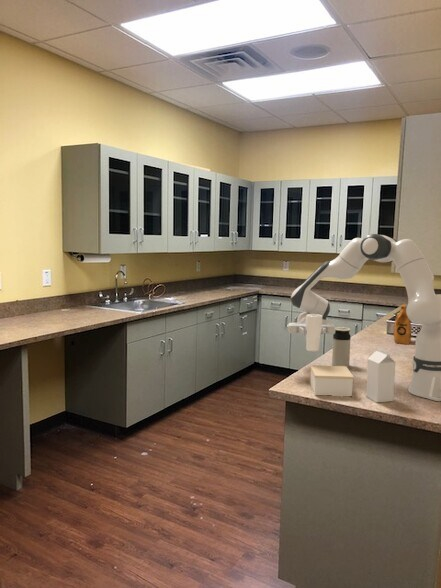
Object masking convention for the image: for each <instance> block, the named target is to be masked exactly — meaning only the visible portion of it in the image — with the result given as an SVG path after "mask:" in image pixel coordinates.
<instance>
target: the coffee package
mask: <svg viewBox="0 0 441 588" xmlns="http://www.w3.org/2000/svg"><path fill="white" fill-rule="evenodd" d="M400 306H401V307H400V311H398V313H397V314H396V316H395V320H394V324H393V340H394V342H395V343H394V344H399V345H410V343H411V341H412V321H411V320H410V319H409V318H408V316H407V313H406V308H407V305H406V304H404V303H403V304H401V305H400Z"/></svg>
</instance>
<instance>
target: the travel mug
mask: <svg viewBox="0 0 441 588" xmlns="http://www.w3.org/2000/svg"><path fill="white" fill-rule="evenodd" d="M350 331H351V328H349V327H343V326H337V327H336V326H335V334H332V335H333V336H332V355H331V357H332V358H331V366H346V367H347V368H348V367H350V360H351V359H350V355H351V333H350Z"/></svg>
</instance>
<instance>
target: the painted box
mask: <svg viewBox="0 0 441 588" xmlns="http://www.w3.org/2000/svg"><path fill="white" fill-rule="evenodd" d="M309 367H310V387H311V386H312V387H311V389H312V388H313V389H312V391H314V392H313V394H314V396H315V395H332V396H331V397H343V396H352V397H353V381H354V380H355V378H354V375H353V374H352V373H351V371H350V370H349V368H348V367H346V366H333V365H315V364H314V365H313V364H310V366H309Z"/></svg>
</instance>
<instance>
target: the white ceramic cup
mask: <svg viewBox="0 0 441 588" xmlns="http://www.w3.org/2000/svg"><path fill="white" fill-rule="evenodd" d="M321 329H322V315H318V314H307V315H306V335H305V341H306V342H305V344H306V345H305V349H306V350H307V351H308V352H318V351H319V350H320V344H321V343H320V341H321V336H322V334H321Z"/></svg>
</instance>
